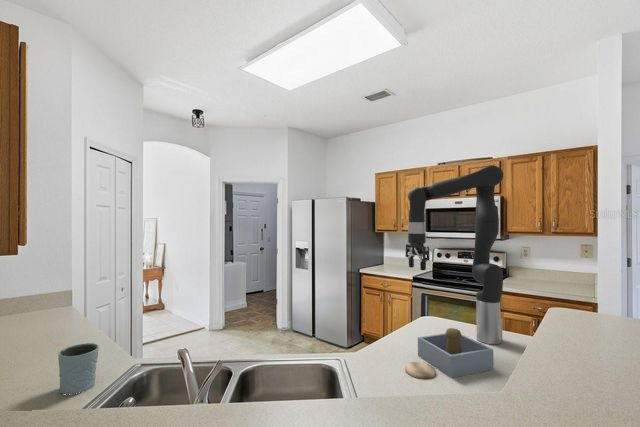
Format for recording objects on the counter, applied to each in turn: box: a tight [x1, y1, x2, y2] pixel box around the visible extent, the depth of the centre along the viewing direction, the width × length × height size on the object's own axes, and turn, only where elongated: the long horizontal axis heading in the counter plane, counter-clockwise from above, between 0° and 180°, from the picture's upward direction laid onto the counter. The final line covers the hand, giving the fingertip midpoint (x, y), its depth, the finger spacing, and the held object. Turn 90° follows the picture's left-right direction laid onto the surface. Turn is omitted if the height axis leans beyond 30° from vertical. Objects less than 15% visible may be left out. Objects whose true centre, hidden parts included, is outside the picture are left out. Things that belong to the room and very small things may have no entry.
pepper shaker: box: [445, 327, 462, 355], centre depth 116 cm, size 6×6×11 cm
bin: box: [417, 332, 494, 379], centre depth 116 cm, size 18×18×7 cm
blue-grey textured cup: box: [57, 342, 100, 395], centre depth 99 cm, size 10×10×12 cm
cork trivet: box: [404, 361, 437, 380], centre depth 109 cm, size 10×10×1 cm
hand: (417, 268), depth 142 cm, fingers open, 8 cm apart
